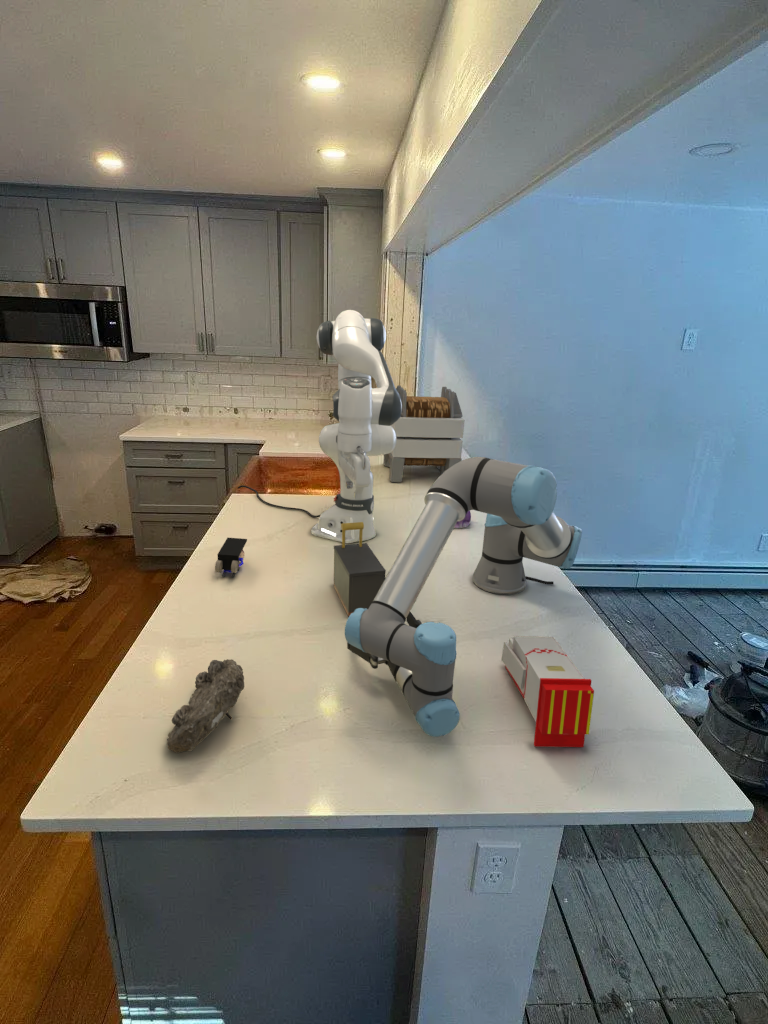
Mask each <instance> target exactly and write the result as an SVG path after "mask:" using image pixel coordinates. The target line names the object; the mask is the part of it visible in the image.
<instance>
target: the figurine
mask: <svg viewBox="0 0 768 1024" xmlns="http://www.w3.org/2000/svg"><path fill="white" fill-rule="evenodd" d="M471 519H472V513H471V510H470V511H468V512H467V514H466V516H465V518H464V519H463V520H461V521H457V523H456V525H455V527H454V528H453V529H462V528H467V527H469V526H470V523H471Z"/></svg>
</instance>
